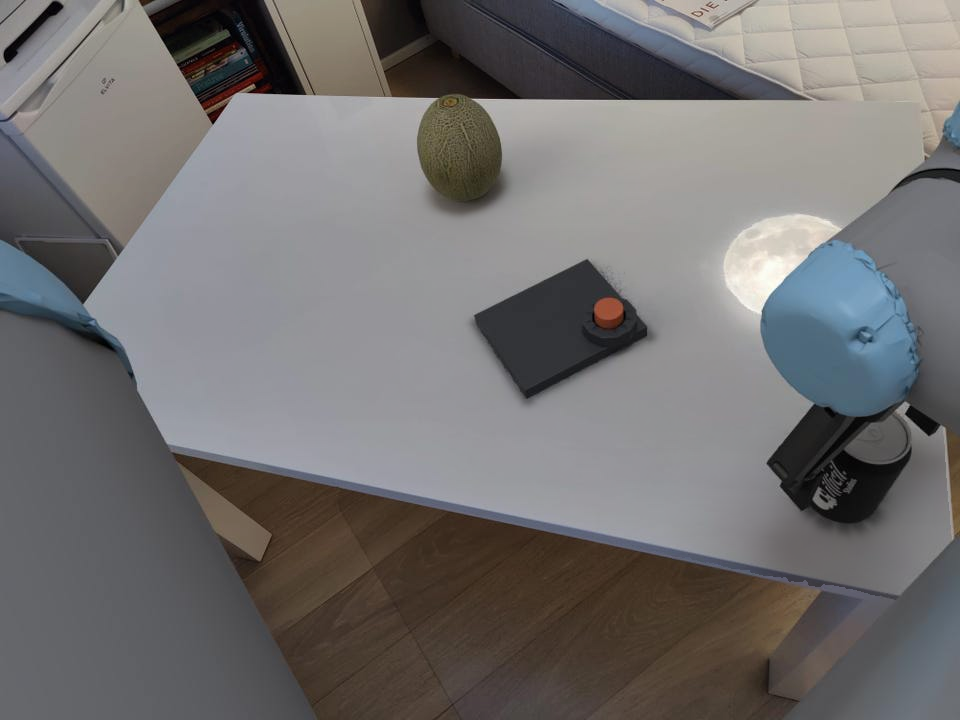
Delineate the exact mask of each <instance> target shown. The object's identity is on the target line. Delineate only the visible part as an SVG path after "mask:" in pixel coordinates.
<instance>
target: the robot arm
mask: <svg viewBox="0 0 960 720" xmlns="http://www.w3.org/2000/svg"><path fill="white" fill-rule="evenodd" d="M942 126H943V127H942V130H941V132H942V134H943V135H942V137H941V139H940V141H939V143H938V145H937V147H936V148H935V149H934V151H933V152H932V153H931V154H930V155H929V156H928V157H927V158H926V159H925V160H924V161H922V163H920V164H919V165H918V166H917V167H915V168H914V169H913V170H912V171H910V172H909V173H908V174H907V175H905V176H904V177H903V178H902V179H901V180H900V181H899V182H898V183H896V184H895V185H894V186H893V188H892V189H891V190H890V191H889V192H888V193H887V194H886V195H885V196H884V197H883V198H881V199H880V200H879V201H878V202H876V203H875V204H874V205H872V206H871V207H870V208H869V209H867V210H866V211H865V212H863V213H862V214H861V215H859V216H858V217H857V218H856V219H853V221H851V222H850V223H848V224H846V226H845V227H843V228H841V230H839V231H838V232H836V233H835V234H834V235H833V236H831V237H830V238H829V239H827V240H826V241H825V242H822V243H820V244H819V245H818V246H816V247H815V248H814V249H813V250H812V251H810V252H809V254H808V256H807V257H806V258H805V259H804V260H803V261H802V262H800V264H799V265H797V266H796V267H795V268H794V269H793V270H792V271H791V272H789V273H788V275H786V276H785V277H784V279H783V280H782V281H781V283H780V284H779V285H777V286H776V287H775V289H774V290H773V291H772V292H771V293H770V294H769V295H768V297H767V299H766V301H764V305H763V306H762V309H761V316H760V322H759V323H760V325H759V329H760V335H761V339H762V344H763V346H764V349H765V352H766V355H767V356H768V358H769V360H770V361H771V363H772V364H773V366H774V367H775V369H776V371H778V373H779V375H780V377H782V378H783V379H784V381H785V382H786V383H787V384H788V385H789V386H790V387H791V388H793V390H795V391H796V392H797V393H798V394H800V395H801V396H802V397H804V398H805V399H807V400H808V401H810V402H811V403H813V404H812V406H811V407H810V408H809V409H808V410H807V412H806V413H805V414H804V415H803V416H802V418H801V419H800V420H799V421H798V423H797V424H796V425H795V427H794V428H792V430H791V431H790V432H789V434H787V436H786V437H785V439H784V440H783V441H782V443H781V444H780V445H779V446H778V447H777V448H776V450H775V451H774V452H773V453H772V455H771V456H770V457H769V458H768V460H767V461H766V463H765V464H766V465H767V466H768V468H769V469H770V470H771V471H772V472H773V473H774V475H775V476H776V477H777V478H778V479H779V480H780V481H781V482H780V484H779V488H780V489H781V490H782V491H783V492H784V493H785V494H786V496H787V497H788V498H789V499H790V500H791V501H792V502H793V504H794V505H795V506H796V507H797V508H798V509H799V510H800V512H803V511H805V510H806V509H808V508H809V507H810V503H811V501H812V499H813V497H814V495H815V493H816V491H817V489H818V487H819V485H820V483H821V481H822V479H823V477H824V474H825V473H824V471H823V470H822V469H823V468H824V467H825V466H826V465H827V464H828V463H829V462H830V461H831V460H832V459H833V458H835V457H836V456H837V455H838V454H839V453H840V452H841V451H842V450H843V449H844V448H845V447H846V446H847V445H848V444H849V443H850V442H852V441H853V440H854V439H855V438H856V437H857V436H858V435H859V434H860V433H861V432H862V431H863V430H864V429H865V428H866V427H868V426H869V425H870V424H871V423H876V422H883V421H885V420H886V419H887V418H888V417H889V416H890V415H891V414H892V413H893V412H894V411H895V412H896V411H897V410H898V409H899V408H900V407H901V406H902V405H904V403H907V404H908V405H909V406H908V407H907V409H906V411H905V413H904V415H905V416H906V417H907V418H908V419H909V420H910V421H911V422H912V423H913V424H915V426H917V427H918V428H919V429H920V430H921V431H922V432H923V433H924V434H925V435H927V437H931V436H932V435H934V434H936V433H937V432H938V430H939V429H940V428H941V426H942V427H943V428H945V429H947V430H948V431H949V432H951V433H952V434H953V435H955V436H957V437H958V438H960V99H959V101H958V102H957V104H956V106H955V108H954V110H953V112H952V114H951V115H950V116H949V117H947V118H945V120H944V122H943V125H942ZM0 720H319V719H318V716H317V715H316V713H315V711H314V710H313V707H312V706H311V704H310V703H309V700H308V699H307V697H306V695H305V693H304V691H303V689H302V688H301V686H300V683H298V681H297V678H296V677H295V675H294V674H293V671H292V669H291V667H290V666H289V664H288V662H287V660H286V658H285V657H284V654H283V653H282V652H281V649H280V648H279V646H278V644H277V642H276V640H275V639H274V637H273V635H272V633H271V631H270V629H269V627H268V625H267V624H266V622H265V620H264V619H263V617H262V614H261V613H260V612H259V609H258V607H257V605H256V604H255V602H254V600H253V598H252V596H251V595H250V593H249V591H248V589H247V588H246V586H245V584H244V582H243V580H242V579H241V576H240V575H239V572H238V571H237V569H236V567H235V565H234V564H233V562H232V560H231V558H230V557H229V554H228V552H227V551H226V549H225V547H224V546H223V543H222V542H221V540H220V538H219V536H218V535H217V533H216V531H215V529H214V527H213V525H212V524H211V521H210V520H209V518H208V516H207V515H206V512H205V511H204V509H203V507H202V505H201V503H200V502H199V500H198V498H197V496H196V494H195V493H194V490H193V489H192V487H191V485H190V483H189V482H188V480H187V478H186V476H185V474H184V472H183V471H182V469H181V467H180V465H179V464H178V461H177V459H176V458H175V456H174V454H173V453H172V451H171V448H170V447H169V445H168V443H167V441H166V440H165V438H164V436H163V434H162V432H161V431H160V429H159V426H158V425H157V424H156V422H155V419H154V418H153V416H152V414H151V412H150V409H148V407H147V404H146V403H145V402H144V400H143V397H142V396H141V394H140V392H139V390H138V383H137V379H136V375H135V372H134V369H133V367H132V364H131V361H130V358H129V356H128V353H127V351H126V348H125V347H124V345H123V344H122V343H121V340H119V338H118V337H116V336H115V335H113V334H112V333H110V332H109V331H107V330H106V329H104V328H103V327H101V325H100V324H99V323H98V320H97V318H94V317H93V316H91V314H90V313H89V311H88V309H87V308H86V307H85V306H84V304H83V303H82V301H81V300H80V299H79V298H78V297H77V295H76V294H75V293H74V292H73V291H72V290H71V289H70V288H69V287H68V286H67V285H66V284H65V283H64V282H63V281H62V280H61V279H60V278H58V276H56V275H55V274H54V273H53V272H52V271H50V270H49V269H48V268H47V267H45V266H44V265H43V264H41V263H40V262H38V261H37V260H35V258H32V257H31V256H30V255H28V254H26V253H24V252H23V251H21V250H19V249H18V248H16V247H15V246H13V245H11V244H10V243H8V242H6V241H4V240H2V239H0ZM781 720H960V532H958V534H957V535H956V536H955V537H954V538H953V539H952V540H951V541H950V542H949V543H948V544H947V546H946V547H944V549H942V550H941V551H940V553H939V554H938V555H937V556H936V557H935V558H934V559H933V560H932V561H931V562H930V563H929V564H928V565H927V566H926V567H925V568H924V570H923V571H921V573H920V574H919V575H918V576H917V577H916V578H915V579H914V580H913V581H912V582H911V583H910V584H909V585H908V586H907V588H905V589H904V591H902V593H901V594H900V595H899V596H898V597H897V598H896V599H895V600H894V601H893V602H892V603H891V604H890V606H888V607H887V609H885V611H883V613H882V614H881V615H880V616H879V617H877V619H876V620H875V621H874V622H873V623H872V624H871V625H870V626H869V628H867V629H866V631H865V632H864V633H862V635H860V636H859V638H858V639H857V640H856V641H855V642H854V643H853V644H852V645H851V646H850V647H849V649H847V650H846V652H844V653H843V655H842V656H841V657H839V659H838V660H837V661H836V662H835V663H834V664H833V665H832V666H831V668H830V669H829V670H828V671H826V673H825V674H824V675H823V676H822V677H821V678H820V679H819V680H818V681H817V682H816V683H815V684H814V685H813V686H812V687H811V688H810V689H809V690H808V692H807V693H806V694H805V695H803V697H801V699H800V700H798V702H797V703H796V704H795V705H794V706H793V707H792V708H791V709H790V710H789V711H788V712H787V714H786V715H785V716H783V718H782V719H781Z"/></svg>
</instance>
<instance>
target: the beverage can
mask: <svg viewBox="0 0 960 720" xmlns="http://www.w3.org/2000/svg"><path fill="white" fill-rule="evenodd" d="M912 442H913V436H912V431H911V428H910V426H909V425H908V422H907V421H906V420H905V419H904V417H903V416H901V415H900V414H899V413H898V412H897V411H896V410H895V411H894V412H893V413H892V414H891V415H890V416H889V417H888V418H887V419H886V420H885V421H883V422H876V423H871V424H870V425H869V426H868V427H866V428H865V429H864V430H863V431H862V432H861V433H860V434H859V435H858V436H857V437H856V438H855V439H854V440H853V441H852V442H850V443H849V444H848V445H847V446H846V447H845V448H844V449H843V450H842V451H841V452H840V453H839V454H838V455H837V456H836V457H835V458H833V459H832V460H831V461H830V462H829V463H828V464H827V465H826V466H825V467H824V468H823V469H822V470H823V471H824V473H825V474H824V477H823V479H822V481H821V483H820V485H819V487H818V489H817V491H816V493H815V495H814V497H813V499H812V501H811V503H810V505H809V507H810V508H811V509H813V511H815V512H816V513H817V514H819V516H821V517H823V518H825V519H827V520H829V521H831V522H835V523H838V524H855V523H860V522H863V521H865V520H867V519H868V518H870V517H871V516H872V515H873V514H874V513H875V512H876V510H877V509H878V507H879V505H881V503H882V501H883V500H884V498H885V497H886V495H887V494H888V492H889V491H890V489H891V488H892V486H893V485H894V484H895V482H896V481H897V479H898V478H899V476H900V475H901V473H902V472H903V470H904V469H905V467H906V466H907V465H908V463H909V461H910V460H911V457H912V453H913V446H912Z"/></svg>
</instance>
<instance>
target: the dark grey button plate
mask: <svg viewBox="0 0 960 720" xmlns="http://www.w3.org/2000/svg"><path fill="white" fill-rule="evenodd" d="M604 298H615V299H617V300H619V301H620V302H621V303H622V305H623V321H622V323H621V324H620V325H619V326H618V327H616V328H613V329H604V328H601V327H600V326H598V325H597V324H596V322H595V315H594V307H595V305H596V303H597V302H598V301H599V300H601V299H604ZM473 317H474V321H475V324H476V325H477V327H478V328H479V330H480V332H481V333H482V334H483V337H484V338H485V339H486V341H487V342H488V343H489V345H490V346H491V348H492V349H493V351H494V353H495V354H496V356H497V357H498V358H499V360H500V361H501V363H502V364H503V366H504V367H505V369H506V371H507V372H508V373H509V375H510V376H511V378H512V379H513V381H514V383H515V384H516V386H517V387H518V388H519V390H520V392H521V393H522V394H523V396H524V398H525V399H529V398H530V397H532V396H534V395H536V394H538V393H540V392H542V391H544V390H545V389H548V388H549V387H551V386H554V385H555V384H557V383H559V382H561V381H563V380H565V379H566V378H568V377H570V376H573V375H574V374H577V373H578V372H580V371H582V370H584V369H586V368H588V367H590V366H592V365H594V364H596V363H598V362H600V361H602V360H603V359H605V358H607V357H609V356H611V355H613V354H615V353H616V352H619V351H620V350H623V349H624V348H626V347H628V346H630V345H633V344H634V343H636V342H638V341H640V340H642V339H643V338H646V337H647V336H648V326H647V324H646V323H644V321H643V320H642V319H641V317H640V316H638V314H637V309H636V308H635V307H634V305H633V304H632V303H631V302H630V300H628V299H626V298H623V297H622V296H621V295H620V294H619V293H618V292H617V290H616V289H615V288H614V287H613V286H612V285H611V284H610V282H608V280H607V279H606V278H605V277H604V276H603V275H602V273H601V272H600V271H599V269H597V268H596V267H595V266H594V265H593V263H592V262H591V261H590V259H588V258H586V259H584V260H582V261H580V262H578V263H576V264H574V265H571V266H570V267H568V268H566V269H564V270H562V271H560V272H558V273H555V274H553V275H552V276H550V277H547V278H545V279H543V280H542V281H539V282H538V283H536V284H533V285H532V286H529V287H528V288H526V289H524V290H521V291H519V292H518V293H515V294H513V295H512V296H510V297H508V298H505V299H504V300H501V301H500V302H497V303H495V304H494V305H491V306H490V307H487V308H485V309H484V310H482V311H479V312H478V313H475V314H474V315H473Z"/></svg>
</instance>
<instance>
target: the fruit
mask: <svg viewBox="0 0 960 720" xmlns="http://www.w3.org/2000/svg"><path fill="white" fill-rule="evenodd" d="M417 130H418V131H417V136H416V151H417V155H418V159H419V164H420V168H421V170H422V172H423V174H424V175H423V176H424V177H425V179H426V180H427V182H428V183H429V184H430V185H431V187H432V188H433V189H434V190H435V191H436V192H438V193H439V194H440V195H441V196H443V197H445V198H447V199H449V200H453V201H456V202H467V201H473V200H476V199H478V198H480V197H482V196H484V195H485V194H487V193H488V192H489V191H490V190H491V189H492V187H493V186H494V185H495V183H496V182H497V180H498V179H499V175H500V173H501V169H502V164H503V162H502V161H503V149H502V143H501V138H500V135H499V132H498V129H497V127H496V125H495V123H494V121H493V119H492V117H491V116H490V114H489V113H488V112H487V110H486V109H485V108H484V106H482V105H481V104H480V103H478V102H477V101H476V100H474V99H472V98H471V97H468V96H466V95H464V94H458V93H453V94H452V93H451V94H446V95H443V96H441V97H439V98H436V99H435V100H434V101H433V102H432V103H431V104H430V105H429V106H428V107H427V109H426V110H425V112H424V114H423V115H422V117H421V120H420V122H419V126H418V129H417Z"/></svg>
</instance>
